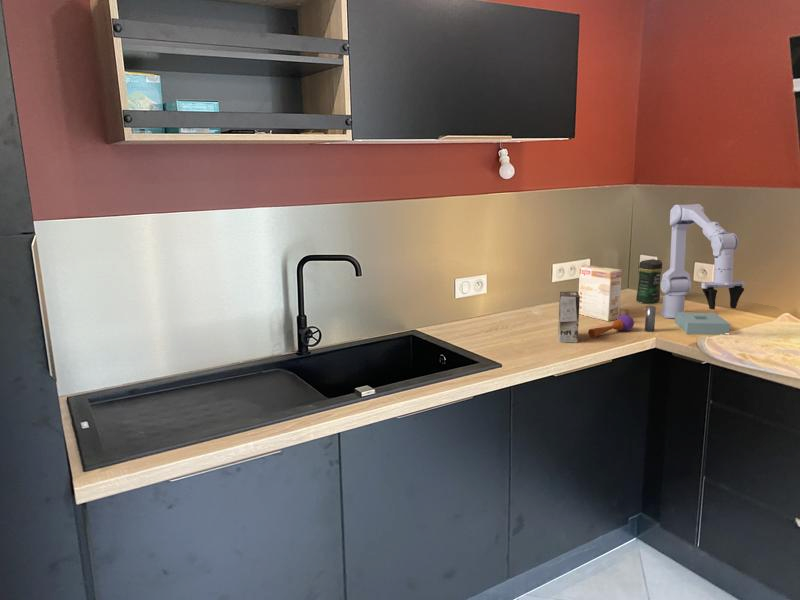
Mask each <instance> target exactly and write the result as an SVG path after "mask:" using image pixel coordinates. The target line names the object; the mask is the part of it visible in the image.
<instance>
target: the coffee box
mask: <svg viewBox="0 0 800 600" xmlns="http://www.w3.org/2000/svg"><path fill="white" fill-rule="evenodd" d="M558 300H559V301H558V303H559V304H558V326H557V327H558V330H557V331H558V332H557V333H558V334H557V337H558V342H559V343H578V341H579V338H578V336H579V319H580V315H579V303H580V296H579V291H559V298H558Z"/></svg>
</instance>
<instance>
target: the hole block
mask: <svg viewBox="0 0 800 600" xmlns="http://www.w3.org/2000/svg"><path fill="white" fill-rule="evenodd" d="M674 323H675V325H676V326H678V327H679V328H680V327H681V328H682V329H683V330H684V331H685V332H686V333H685V332H684V331H683V330H682V329H681V328H680V329H681V330H682V331H683V332H684V333H685V334H687V335H709V336H711V335H719V336H720V334H725V333H729V334H730V329H731V323H729V321H727V320H726V319H724V318H723V317H722V316H720V315H719V314H717V313H716V312H688V311H687V312H685V311H684V312H676V313H675V318H674Z"/></svg>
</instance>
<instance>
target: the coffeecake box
mask: <svg viewBox="0 0 800 600" xmlns="http://www.w3.org/2000/svg"><path fill="white" fill-rule="evenodd" d="M622 271H623V270H622V269H618V268H612V267H604V266H599V265H598V266H597V265H585V266H584V265H583V266H580V267H579V281H578V294H579V296H580V303H579V314H581V315H580V316H583V315H584V316H585V317H587V316H588V317H587V318H593V319H597V320H600V321H606V322H611V321H615V320H616V319H618V318H619V313H620V305H621V288H622Z"/></svg>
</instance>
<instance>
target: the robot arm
mask: <svg viewBox="0 0 800 600" xmlns="http://www.w3.org/2000/svg"><path fill="white" fill-rule="evenodd" d="M695 224H696V225H697V226H699V227H700V228H702V234H703V235H704V236H705V237H706V238H707V240H708V241H710V245H711V249H712V255H713V256H714V263H713V265H714V266H713V267H714V268H713V270H714V271H713V274H714V275H713V281H707V282H701V285H700V286H701V289H702V293H703V294H704V296H705V298H706V301H707V304H708V308H709V310H713V311H714V310H716V300H717V299H716V297H717V293H718V290H717V289H720V288H721V289H722V288H725V289H726V288H728V292H729V306H730V307H729V308H730V309H737V306H738V303H739V300H740V298H741V296H742V294H743V293H744V291H745V287H746V281H743V280H733V279H734V256H735V255H734V251H735V250H736V249H737V247H738V244H739V239H738V236H737V235H736V234H735V233H734V232H727V231H726V230H725V229H724V228H723V227H722V226H721V225H720V223H719V222H718V221H711V219H710V218H709V217H708V215H706V214H705V207H704V206H702V205H701V203H700V204H699V203H696V204H695V203H694V204H675V205H673V206H672V208H671V209H670V214H669V226H670V227H671V237H670V239H671V241H670V257H669V258H670V259H669V260H670V261H669V269H667V270H666V271H665V272H664V273H662V278H661V280H660V291H662V293H663V294H664V295H663V297H662V307H661V309H662V310H659V314H660V315H661V316H662V317H664V318H665V319H675V313H676V312H685V300H686V298H685V297H686V295H688V293H689V292H690V290H691V288H692V281H691V274H690V273H689V272H688V271H686V269H685V267H686V265H685V264H686V249H687V229H688V228H689V227H691V226H692V225H695Z"/></svg>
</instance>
